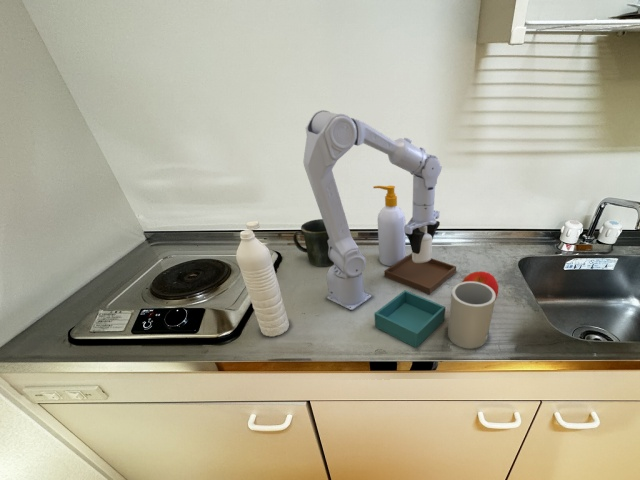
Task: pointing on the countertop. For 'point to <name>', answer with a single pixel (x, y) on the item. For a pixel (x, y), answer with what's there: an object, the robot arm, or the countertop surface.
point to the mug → (315, 242)
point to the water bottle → (261, 283)
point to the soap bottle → (391, 229)
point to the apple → (483, 280)
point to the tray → (420, 273)
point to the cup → (470, 314)
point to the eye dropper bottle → (424, 248)
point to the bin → (410, 318)
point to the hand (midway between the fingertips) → (421, 248)
